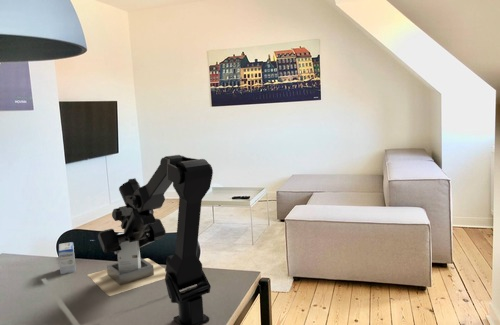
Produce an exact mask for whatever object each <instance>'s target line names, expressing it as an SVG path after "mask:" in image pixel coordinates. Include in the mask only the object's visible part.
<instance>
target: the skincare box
mask: <svg viewBox="0 0 500 325" xmlns="http://www.w3.org/2000/svg"><path fill="white" fill-rule="evenodd" d="M123 233H124V232H118V233H117V235H119V234H123ZM120 246H121V249H122V250H121V251H119V252H118V253H117V254H116V255H117V263H118V266H119V272H120V273H125V272H128V271H132V270H135V269H139V268H141V259H140V258H141V252H140V251H141V250H140V248H141V247H140V248H139V240H138V241H134V242H129V241H127V242H123V243H121V244H120Z"/></svg>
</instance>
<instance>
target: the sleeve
mask: <svg viewBox="0 0 500 325" xmlns="http://www.w3.org/2000/svg"><path fill="white" fill-rule="evenodd" d="M140 259H141V268H139V269H135V270H132V271H128V272H125V273H120V272H119V266H118V262H116V263H110V264H107V265H106V269H107V274H108V276H109V277H111V278H112V279H113V280H114V281H115V282H116V283H118V284H119V285H123V284H127V283H130V282H133V281H136V280H139V279H143V278H146V277H149V276H152V275H154V269H153V265H152V264H150V263H148V262H147V261H145V260H144V259H145V258H142V257H140Z"/></svg>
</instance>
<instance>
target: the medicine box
mask: <svg viewBox="0 0 500 325" xmlns="http://www.w3.org/2000/svg"><path fill="white" fill-rule="evenodd" d="M74 248H75V246H74V242H73V241H71V242H64V243H59V244H58V260H59V270H60V271H59V272H60V275H65V274H70V273H75V272H76V270H77V269H76V259H75V257H76V256H75V249H74Z"/></svg>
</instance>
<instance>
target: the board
mask: <svg viewBox="0 0 500 325" xmlns="http://www.w3.org/2000/svg"><path fill="white" fill-rule="evenodd" d="M143 259H144V260H145V261H147V262H148V263H150V264H152V265H153V269H154V275H152V276H149V277H146V278H143V279H139V280H136V281H133V282H130V283H127V284H123V285H119V284H118V283H116V282H115V281H114V280H113V279H112V278H111V277H109V276H108V274H107V268H106V269H103V270H99V271H96V272H93V273H89V274H87V277H88V278H89V279H91V281H93V282H94V283H95V285H97V286H98V287H99V288H100V290H102V292H104V293H105V294H106V295H107V296H108V297H112V296H115V295H118V294H120V293H121V294H122V293H125V292H127V291H130V290H133V289H136V288H137V289H138V288H140V287H142V286H143V287H144V286H147V285H149V284H152V283H157V282H158V281H161V280H165V275H166V272H165V269H166V267H163V266H161V265H160V264H158V263H156V262H155V261H154V260H152V259H150V258H143Z"/></svg>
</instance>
